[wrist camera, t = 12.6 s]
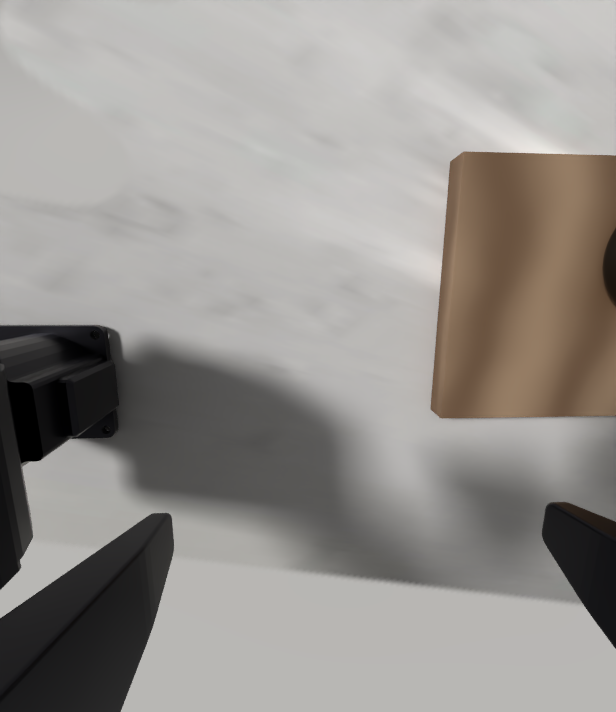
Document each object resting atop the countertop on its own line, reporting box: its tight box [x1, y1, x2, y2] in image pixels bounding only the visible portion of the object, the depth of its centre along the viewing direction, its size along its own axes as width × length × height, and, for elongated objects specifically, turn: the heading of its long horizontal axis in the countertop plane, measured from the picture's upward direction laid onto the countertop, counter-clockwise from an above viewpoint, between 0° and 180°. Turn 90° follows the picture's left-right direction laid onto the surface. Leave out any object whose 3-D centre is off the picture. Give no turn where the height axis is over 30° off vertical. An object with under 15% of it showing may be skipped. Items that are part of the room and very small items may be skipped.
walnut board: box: [431, 152, 616, 418], centre depth 20 cm, size 16×14×2 cm
